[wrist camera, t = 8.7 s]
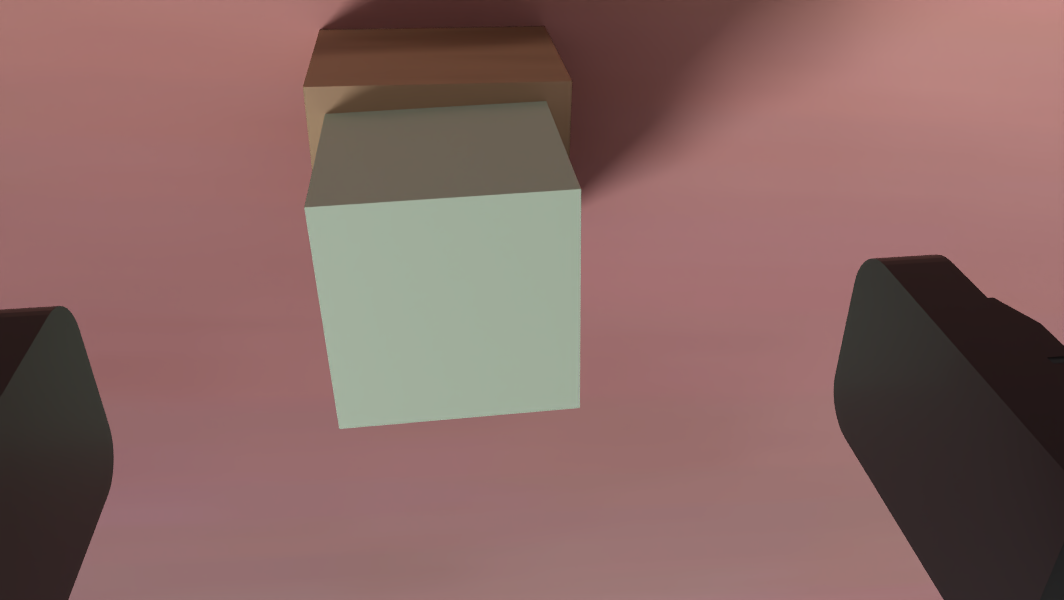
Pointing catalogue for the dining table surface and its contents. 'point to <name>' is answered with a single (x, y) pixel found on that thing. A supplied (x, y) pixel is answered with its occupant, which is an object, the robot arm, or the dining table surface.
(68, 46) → the dining table surface
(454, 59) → the walnut base
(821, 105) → the dining table surface
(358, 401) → the sage block
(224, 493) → the dining table surface
